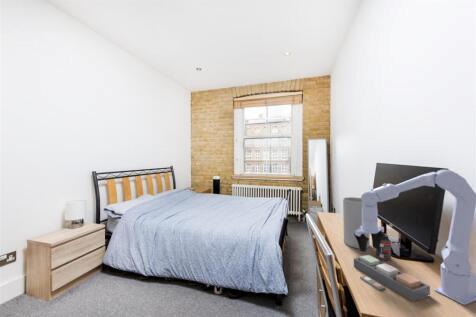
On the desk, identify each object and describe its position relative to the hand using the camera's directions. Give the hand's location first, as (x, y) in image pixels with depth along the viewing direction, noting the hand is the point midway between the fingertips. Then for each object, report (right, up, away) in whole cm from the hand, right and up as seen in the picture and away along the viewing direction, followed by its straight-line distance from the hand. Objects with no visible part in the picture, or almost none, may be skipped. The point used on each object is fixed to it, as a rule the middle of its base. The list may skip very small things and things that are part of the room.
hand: (369, 249), depth 87 cm
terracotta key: (+5, -7, -14) cm, 16 cm away
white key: (+3, -7, -7) cm, 10 cm away
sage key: (0, -7, 0) cm, 7 cm away
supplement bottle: (+13, -9, +10) cm, 18 cm away
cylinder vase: (+9, -8, +25) cm, 28 cm away
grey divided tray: (+3, -9, -7) cm, 11 cm away
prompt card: (-5, -9, -9) cm, 14 cm away
